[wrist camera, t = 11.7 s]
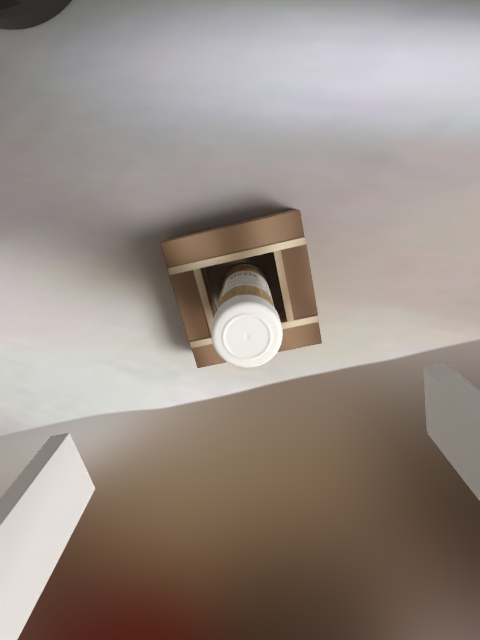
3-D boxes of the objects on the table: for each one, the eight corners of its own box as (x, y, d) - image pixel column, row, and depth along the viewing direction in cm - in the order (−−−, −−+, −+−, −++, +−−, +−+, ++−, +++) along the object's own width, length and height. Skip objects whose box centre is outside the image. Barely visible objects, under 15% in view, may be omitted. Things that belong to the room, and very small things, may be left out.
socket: (201, 352, 37) (196, 368, 33) (168, 238, 33) (159, 243, 30) (315, 329, 36) (322, 343, 32) (295, 208, 32) (300, 210, 28)
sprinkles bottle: (218, 301, 35) (203, 362, 22) (228, 257, 33) (218, 294, 21) (262, 311, 35) (273, 376, 23) (274, 268, 34) (292, 311, 21)
